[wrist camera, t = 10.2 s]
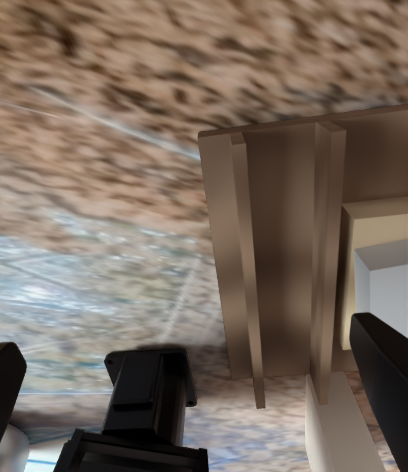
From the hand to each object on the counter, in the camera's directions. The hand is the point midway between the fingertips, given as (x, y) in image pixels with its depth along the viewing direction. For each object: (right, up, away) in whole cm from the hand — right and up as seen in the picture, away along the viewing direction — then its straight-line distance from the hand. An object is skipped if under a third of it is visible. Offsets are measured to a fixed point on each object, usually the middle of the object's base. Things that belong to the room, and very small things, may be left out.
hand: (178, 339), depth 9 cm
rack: (+8, +1, +13) cm, 15 cm away
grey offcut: (+11, -1, +10) cm, 15 cm away
